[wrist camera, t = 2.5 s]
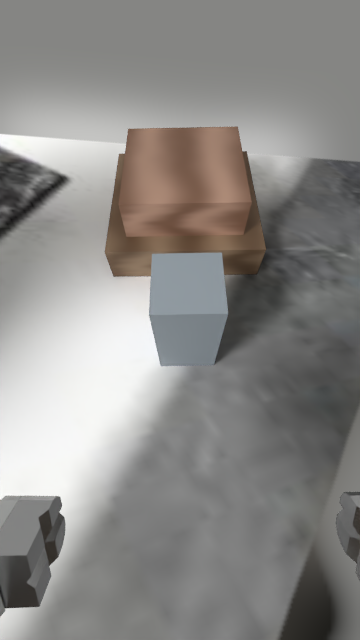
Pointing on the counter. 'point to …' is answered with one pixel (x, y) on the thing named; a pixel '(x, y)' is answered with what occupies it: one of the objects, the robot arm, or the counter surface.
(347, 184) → the counter surface
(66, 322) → the counter surface
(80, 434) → the counter surface
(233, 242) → the plinth
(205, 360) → the slate brick
